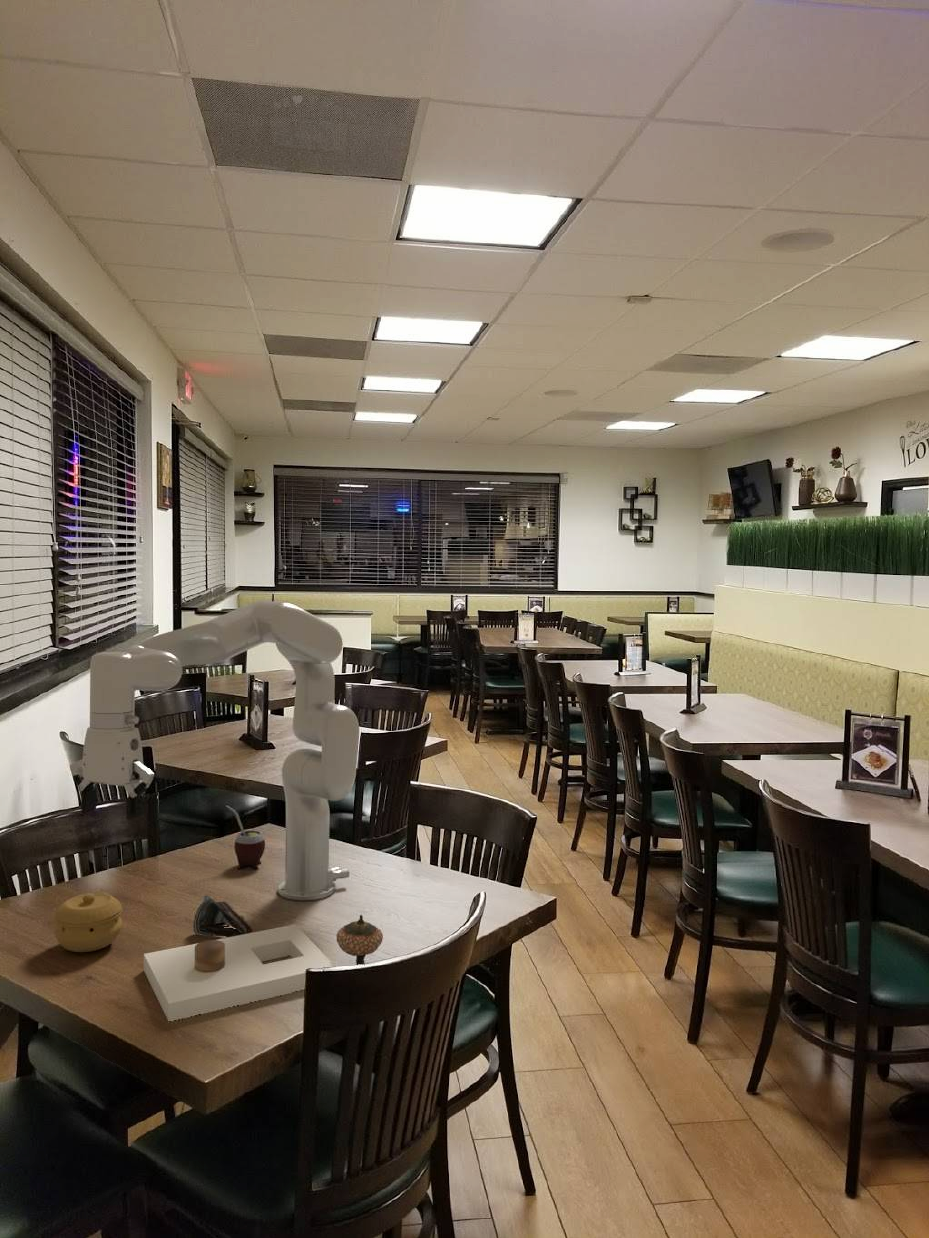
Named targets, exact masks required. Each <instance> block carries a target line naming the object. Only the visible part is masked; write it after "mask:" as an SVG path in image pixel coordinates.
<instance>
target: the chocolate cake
mask: <svg viewBox="0 0 929 1238" xmlns="http://www.w3.org/2000/svg"><path fill="white" fill-rule="evenodd" d="M203 897H204V898H203V901H202V902H201V904H200V905H199V906H198V908H197V910H196V912H195V914H194V919H193V924H192V927H193V933H194V934H195V935H196V934H197V935H196V936H203V935H204V936H205V937H210V936H214V935H215V936H226V937H233V936H238V935H243V934H248V933H251V932H252V931H253V928H252V926H250V924H249V923H248V922H247V921H246V919H245V916H244V915H241V914H238V912H237V911H235V910H234V906H233V905H232V904H229V903H228V902H227V901H225V900H224V901H217V902H216V901H215V900H214V899H213V898H211V897H210V896H208V895H207V894H206V895H204V896H203ZM222 922H225V923H222ZM214 923H215V924H214ZM218 923H221V924H223V925H227V926H222V925H219V926H218ZM230 925H231V926H232V927H234V928H236V929H233V928H224V927H229V926H230ZM252 933H253V932H252ZM198 934H199V935H198ZM206 935H207V936H206Z"/></svg>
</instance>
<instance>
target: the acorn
mask: <svg viewBox="0 0 929 1238" xmlns="http://www.w3.org/2000/svg"><path fill="white" fill-rule="evenodd" d="M363 918H364V917H363V915H362V914H360V915H359V919H358V920H357V921H352V922H350V923H348V924H346V925H344V926H342V927H340V928H339V930H338V931H337V933H336V935H335V936H336V943H337V944H338V946H339V949H341V950H342V952H343V953H345V954H347V955H350V956H352V957H356V958H355V962H356V963H355V964H356V965H358V964H364V965H365V958H366V956H367V955H370V954H373V953H375V952H376V951H377V950H378V949H379V947H380V946H381V944H382V942H383V939H384V935H383V932H382V930H381V929H380V928H378V927H377V926H375V925H373V924H372V923H370V922H367V921H365V919H363ZM356 965H355V966H356Z"/></svg>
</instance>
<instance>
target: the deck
mask: <svg viewBox="0 0 929 1238" xmlns="http://www.w3.org/2000/svg"><path fill="white" fill-rule="evenodd" d="M217 940H218V941H222V942H223V943H224V944H225V966H224V967H223V968H222V969H221V970H218V971H215V972H210V973H203V972H199V971H196V970H195V946H196V945H197V944H198V943H199V942H197V943H193V944H188V945H184V946H179V947H178V946H177V947H173V948H166V949H163V950H157V951H153V952H147V953H143V972H144V974H145V976H146V977H147V980H148V982H149V984H150V987H151V988H152V990H153V992H154V995H155V997H156V999H157V1000H158V1003H159V1005H160V1007H161V1009H162V1011H163V1013H164V1015H165V1017H166V1019H167V1022H169V1021H171V1022H175V1021H174V1020H176V1021H179V1020H178V1019H180V1020H184V1019H188V1018H191V1016H192V1017H196V1016H195V1015H197V1016H199V1015H198V1014H201V1015H206V1014H209V1013H212V1012H213V1011H214V1012H218V1011H221V1009H222V1010H226V1009H229V1008H228V1007H230V1008H234V1007H233V1006H235V1007H238V1006H237V1005H239V1006H243V1005H247V1004H251V1003H250V1002H252V1003H255V1001H256V1002H259V1000H260V1001H264V1000H269V999H271V998H276V996H277V997H280V995H281V996H285V995H289V994H293V992H294V993H296V992H295V991H298V992H301V991H300V990H302V991H304V990H303V988H304V979H305V971H306V969H308V968H323V967H333V966H335V965H334V963H333V962H332V961H331V960H330V959H329V958H328V957H327V956H326V955H325V954H324V953H323V952H322V950H320V948H318V947H317V945H316V944H315V943H314V942H313V941H312V940H311V939H310V938H309V937H308V936H307V935H306V934H305V933H304V932H303V931H302V930H301V929H300V928H299V927H298V925H296V924H290V925H286V926H285V925H284V926H281V927H275V928H270V929H265V930H259V931H254V932H252V933H248V934H243V935H238V936H233V937H228V938H217ZM289 956H290V958H288V959H282V960H279V961H274V962H268V963H266V964H265V963H264V964H263V962H267V961H270V960H276V959H281V958H284V957H289ZM225 1008H226V1009H225ZM217 1010H218V1011H217ZM214 1012H213V1013H214ZM182 1018H183V1019H182Z"/></svg>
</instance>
